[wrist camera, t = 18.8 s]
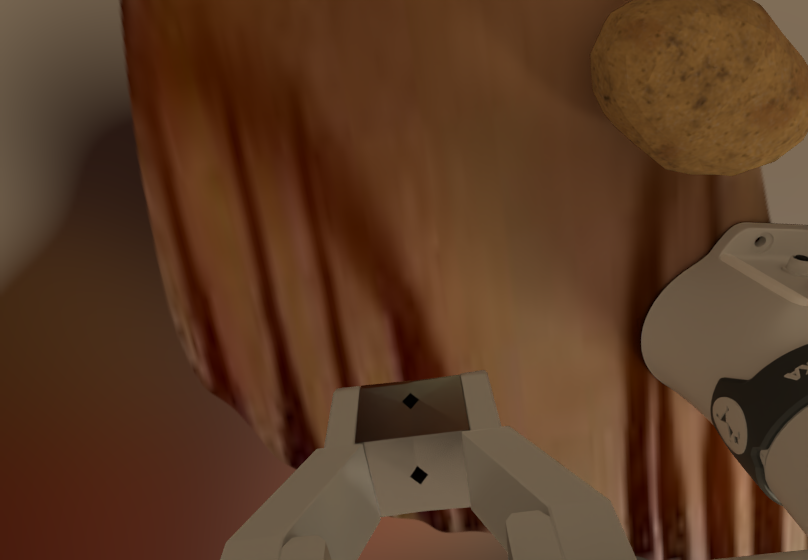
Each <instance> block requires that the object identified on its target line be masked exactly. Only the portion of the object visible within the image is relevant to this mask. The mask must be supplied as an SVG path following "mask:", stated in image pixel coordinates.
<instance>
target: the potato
mask: <svg viewBox="0 0 808 560" xmlns="http://www.w3.org/2000/svg"><path fill="white" fill-rule="evenodd" d="M590 64H591V78H592V90H593V92H594V94H595V96H596V98H597V101H598V103H599V105H600V107H601V109H602V111H603V113H604V114H605V115H606V117H607V118H608V119H609V120H610V121H611V122H612V123H613V124H614V125H615V126H616V128H617V129H618V130H619V131H620V132H621V133H623V134H624V135H625V136H626V137H627V138H628V139H630V140H631V141H632V142H633V143H634V144H635V145H636V146H638V147H639V148H640V149H641V150H643V151H644V152H645V153H646V154H647V155H649V156H650V157H651V158H652V159H654V160H655V161H656V162H657V163H658V164H660V165H661V166H662V167H663V168H665V169H667V170H671V171H676V172H681V173H686V174H700V175H726V176H734V175H737V174H740V173H743V172H745V171H748V170H751V169H754V168H757V167H760V166H763V165H766V164H768V163H772V162H774V161H776V160H777V159H779V157H781V156H782V155H784V154H785V153H786V152H788V151H789V150H790V149H792V148H793V147H794V146H796V145H797V144H798V143H800V142H801V141H802V140H803V139H804V137H805V136H806V134H807V132H808V65H807V64H806V62H805V61H804V59H803V58H802V56H801V55H800V54H799V52H798V51H797V50H796V49H795V48H794V47H793V45H792V44H791V43H790V42H789V40H788V39H787V38H786V37H785V36H784V35H783V33H782V32H781V31H780V29H779V28H778V27H777V25H776V24H775V23H774V21H773V20H772V19H771V17H770V16H769V15H768V13H767V12H766V11H765V10H764V8H763V7H762V6H761V5H760V4H758V3H756V2H755V1H753V0H632V1H630V2H629V3H627V4H625V5H624V6H622V7H620V8H618V9H617V10H615V11H613V12H612V13H610V15H609V16H608V18H607V19H606V21H605V22H604V24H603V26H602V29H601V31H600V33H599V35H598V38H597V40H596V42H595V44H594V47H593V49H592V51H591V53H590Z"/></svg>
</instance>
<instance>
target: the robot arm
mask: <svg viewBox="0 0 808 560" xmlns="http://www.w3.org/2000/svg"><path fill="white" fill-rule="evenodd" d="M758 237H760V239H759V241H757V242H756V243H755V240H756V239H757V238H758ZM641 349H642V354H643V358H644V361H645V363H646V365H647V367H648V369H649V370H650V372H651V373H652V374H653V375H654V376H655V377H656V378H657V379H658V380H659V381H660V382H662V383H663V384H665V385H666V386H668V387H669V388H671V389H673V390H674V391H675V392H677V393H678V394H679V395H681V396H682V397H683V398H684V399H686V400H687V401H688V402H689V403H690V404H692V405H693V406H694V407H695V408H696V409H697V410H698V411H700V412H701V413H702V414H703V415H704V416H705V417H706V418H707V419H708V420H709V421H710V422H711V423H712V424H713V425H714V426H715V428H716V430H717V431H718V433H719V435H720V436H721V438H722V439H723V441H724V443H725V444H726V445H727V447H728V448H729V450H730V451H731V453H732V454H733V455H734V457H735V458H736V459H737V460H738V462H739V463H740V464H741V465H742V467H743V468H744V469H745V470H746V472H747V473H748V474H749V475H750V476H751V477H752V479H753V480H754V481H755V482H756V483H757V485H758V486H759V487H760V488H761V489H762V490H763V492H764V493H765V494H766V495H767V496H768V497H769V498H770V499H771V500H773V501H774V502H776V503H778V504H779V505H782V506H784V508H785V509H786V510H787V511H788V513H789V514H790V515H791V516H792V518H793V519H794V520H795V521H796V523H797V524H798V525H799V526H800V528H801V529H802V530H803V531H804V533H805V534H806V535H807V536H808V225H796V224H774V223H752V222H744V223H739V224H736V225H734V226H733V227H731V228H730V229H729V230H728V231H727V232H726V233H725V234H724V235H723V236H722V237H721V238H720V240H719V241H718V242H717V243H716V245H715V246H714V247H713V249H712V250H711V251H710V253H709V254H708V255H707V256H705V257H704V258H703V259H702V260H700V261H699V262H697V263H696V264H694V265H693V266H691V267H690V268H689V269H687V270H686V271H684V272H683V273H682V274H680V275H679V276H678V277H677V278H675V279H674V280H673V281H672V282H671V283H670V284H669V285H668V286H667V287H666V288H665V289H664V290H663V291H662V293H661V294H660V295H659V296H658V298H657V299H656V300H655V302H654V303H653V305H652V307H651V309H650V310H649V312H648V315H647V317H646V319H645V322H644V326H643V330H642V336H641ZM465 507H471V509H472V511H473V512H474V513H475V514H476V515H477V516H478V518H479V519H480V520H481V521H482V522H483V524H484V525H485V526H486V527H487V528H488V529H489V531H490V532H491V533H492V534H493V535H494V536H495V538H496V539H497V540H498V541H499V542H500V544H501V545H502V546H503V547H504V548H505V550H506V551H507V552H508V560H637V559H636V557H635V555H634V553H633V550H632V548H631V546H630V544H629V541H628V539H627V537H626V535H625V533H624V530H623V528H622V526H621V524H620V521H619V519H618V517H617V515H616V512H615V510H614V508H613V506H612V504H611V501H610V500H609V499H607V498H606V497H605V496H603V495H602V494H601V493H599V492H598V491H596V490H595V489H594V488H592V487H591V486H590V485H588V484H587V483H586V482H584V481H583V480H582V479H580V478H579V477H578V476H576V475H575V474H573V473H572V472H571V471H569V470H568V469H567V468H565V467H564V466H563V465H561V464H560V463H559V462H557V461H556V460H555V459H553V458H552V457H550V456H549V455H548V454H546V453H545V452H544V451H542V450H541V449H540V448H538V447H537V446H536V445H534V444H533V443H532V442H530V441H529V440H527V439H526V438H525V437H523V436H522V435H521V434H519V433H518V432H517V431H515V430H514V429H513V428H511V427H510V426H505V427H501V423H500V419H499V416H498V412H497V408H496V404H495V401H494V397H493V393H492V389H491V385H490V382H489V378H488V374H487V372H486V371H485V370H481V371H475V372H468V373H462V374H460V375H453V376H446V377H438V378H430V379H423V380H415V381H403V382H393V383H383V384H374V385H364V386H361V387H360V386H357V387H348V388H339V389H336V390H335V392H334V393H333V399H332V405H331V410H330V416H329V422H328V428H327V434H326V440H325V446H324V448H321V449H316V450H315V451H314V452H313V453H312V454H311V456H310V457H309V458H308V459H307V460H306V461H305V462H304V463H303V464H302V465H301V466H300V467H299V468H298V469H297V470H296V471H295V472H294V473H293V474H292V475H291V476H290V477H289V478H288V479H287V480H286V481H285V482H284V483H283V484H282V485H281V487H279V489H278V490H277V491H276V492H275V493H274V494H273V495H272V496H271V497H270V498H269V499H268V500H267V501H266V502H265V503H264V504H263V505H262V506H261V507H260V508H259V509H258V510H257V511H256V512H255V513H254V514H253V515H252V516H251V517H250V518H249V520H248V521H247V522H246V523H245V524H244V525H243V526H242V527H241V528H240V529H239V530H238V531H237V532H236V533H235V534H234V535H233V536H232V537H231V538H230V539H229V540H228V541H227V542H226V544H225V547H224V550H223V554H222V556H221V560H357V559H358V557H359V556H360V554H361V552H362V551H363V549H364V547H365V546H366V544H367V542H368V541H369V539H370V537H371V535H372V534H373V532H374V530H375V529H376V527H377V525H378V524H379V522H380V517H385V516H392V515H399V514H406V513H413V512H420V511H425V510H426V511H429V510H441V509H453V508H465ZM714 560H808V550H799V551H790V552H780V553H771V554H761V555H752V556H742V557H733V558H723V559H714Z"/></svg>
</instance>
